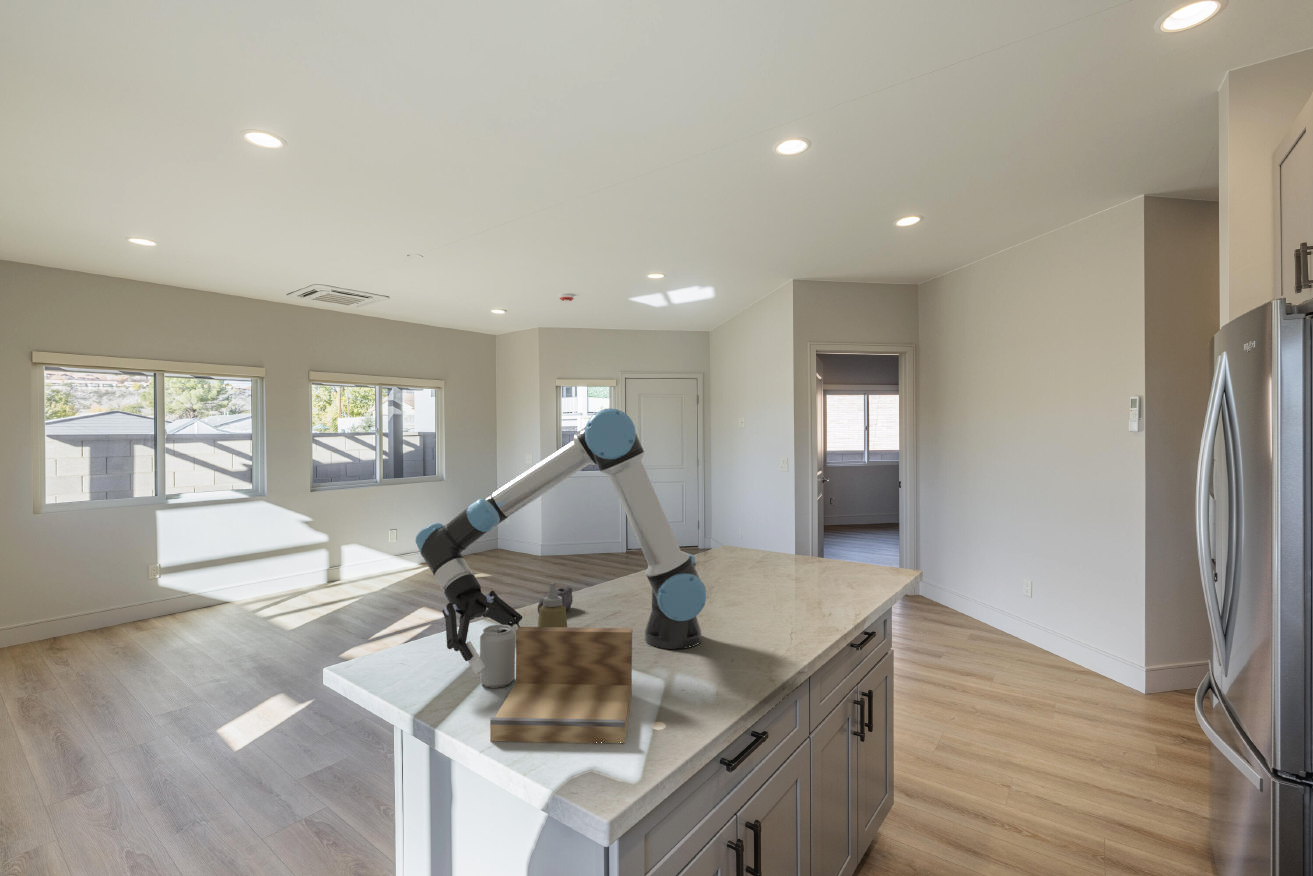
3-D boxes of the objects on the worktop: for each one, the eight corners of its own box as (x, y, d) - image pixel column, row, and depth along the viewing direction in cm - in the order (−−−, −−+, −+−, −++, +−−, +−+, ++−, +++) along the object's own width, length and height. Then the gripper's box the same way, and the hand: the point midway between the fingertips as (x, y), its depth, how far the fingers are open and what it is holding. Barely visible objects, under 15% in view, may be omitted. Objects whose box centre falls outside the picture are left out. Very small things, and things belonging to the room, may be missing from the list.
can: (505, 691, 126) (505, 634, 126) (473, 687, 127) (473, 632, 127) (520, 677, 133) (520, 624, 133) (489, 674, 135) (490, 621, 135)
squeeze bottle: (575, 653, 148) (575, 581, 148) (556, 664, 141) (557, 589, 141) (548, 648, 152) (548, 578, 151) (528, 658, 144) (529, 585, 144)
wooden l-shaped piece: (631, 694, 125) (632, 628, 125) (624, 743, 105) (625, 665, 105) (518, 692, 125) (519, 626, 125) (490, 741, 105) (490, 663, 105)
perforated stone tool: (544, 621, 174) (544, 597, 174) (531, 618, 177) (531, 594, 176) (577, 608, 186) (578, 586, 186) (565, 606, 189) (565, 584, 189)
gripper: (491, 581, 149) (535, 652, 141) (403, 605, 128) (449, 690, 120) (506, 563, 146) (552, 634, 139) (419, 584, 125) (468, 670, 117)
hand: (504, 660), depth 129 cm, fingers open, 13 cm apart
